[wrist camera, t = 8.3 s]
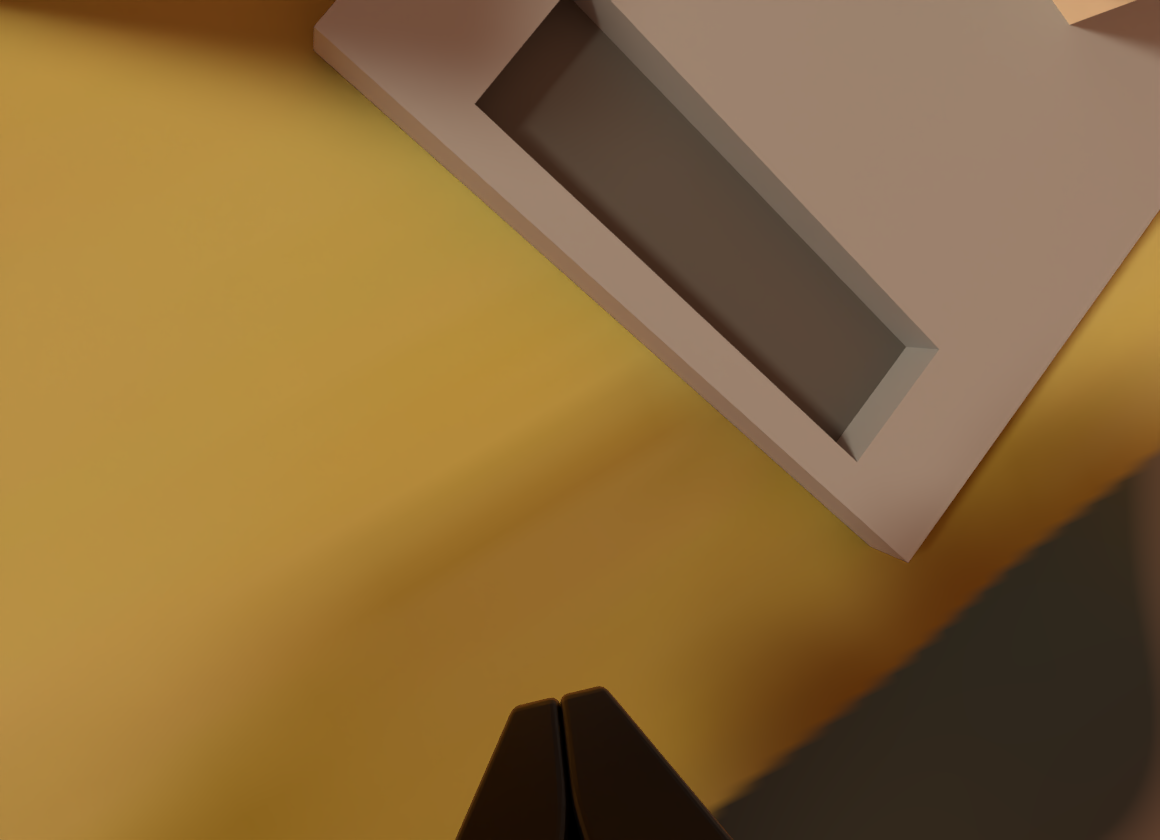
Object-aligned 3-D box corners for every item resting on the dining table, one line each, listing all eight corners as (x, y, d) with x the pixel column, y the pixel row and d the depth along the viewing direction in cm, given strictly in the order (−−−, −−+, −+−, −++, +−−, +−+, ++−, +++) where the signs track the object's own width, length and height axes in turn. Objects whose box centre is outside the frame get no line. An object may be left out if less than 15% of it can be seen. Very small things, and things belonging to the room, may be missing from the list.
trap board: (870, 546, 22) (908, 562, 21) (313, 50, 17) (313, 26, 15) (1228, 47, 24) (1286, 31, 23) (835, -565, 18) (880, -639, 17)
